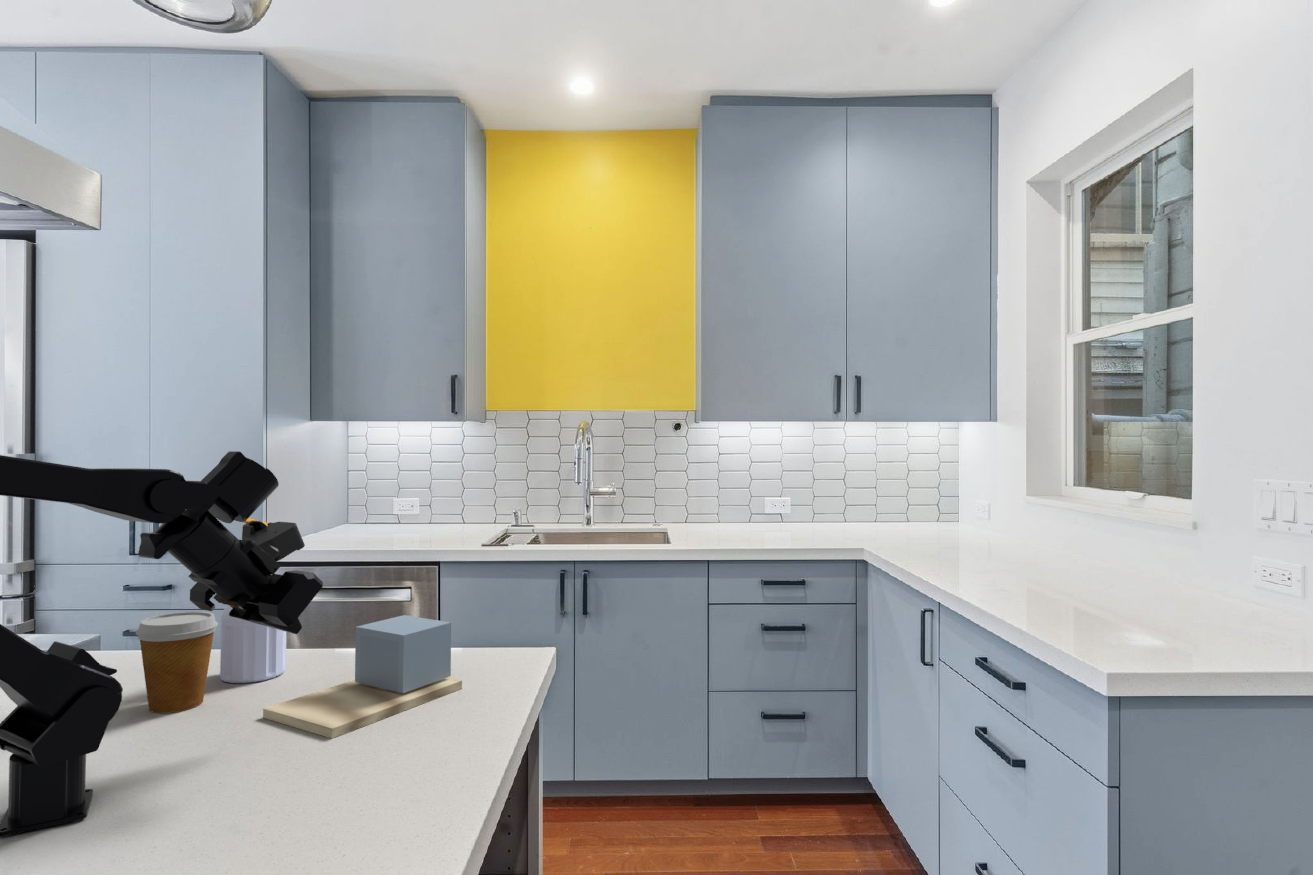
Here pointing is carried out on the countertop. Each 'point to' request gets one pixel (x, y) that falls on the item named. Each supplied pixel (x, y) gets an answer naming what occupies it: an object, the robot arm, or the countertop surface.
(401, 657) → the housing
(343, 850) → the countertop surface
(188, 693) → the disposable coffee cup
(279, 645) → the soap bottle
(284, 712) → the flat panel
